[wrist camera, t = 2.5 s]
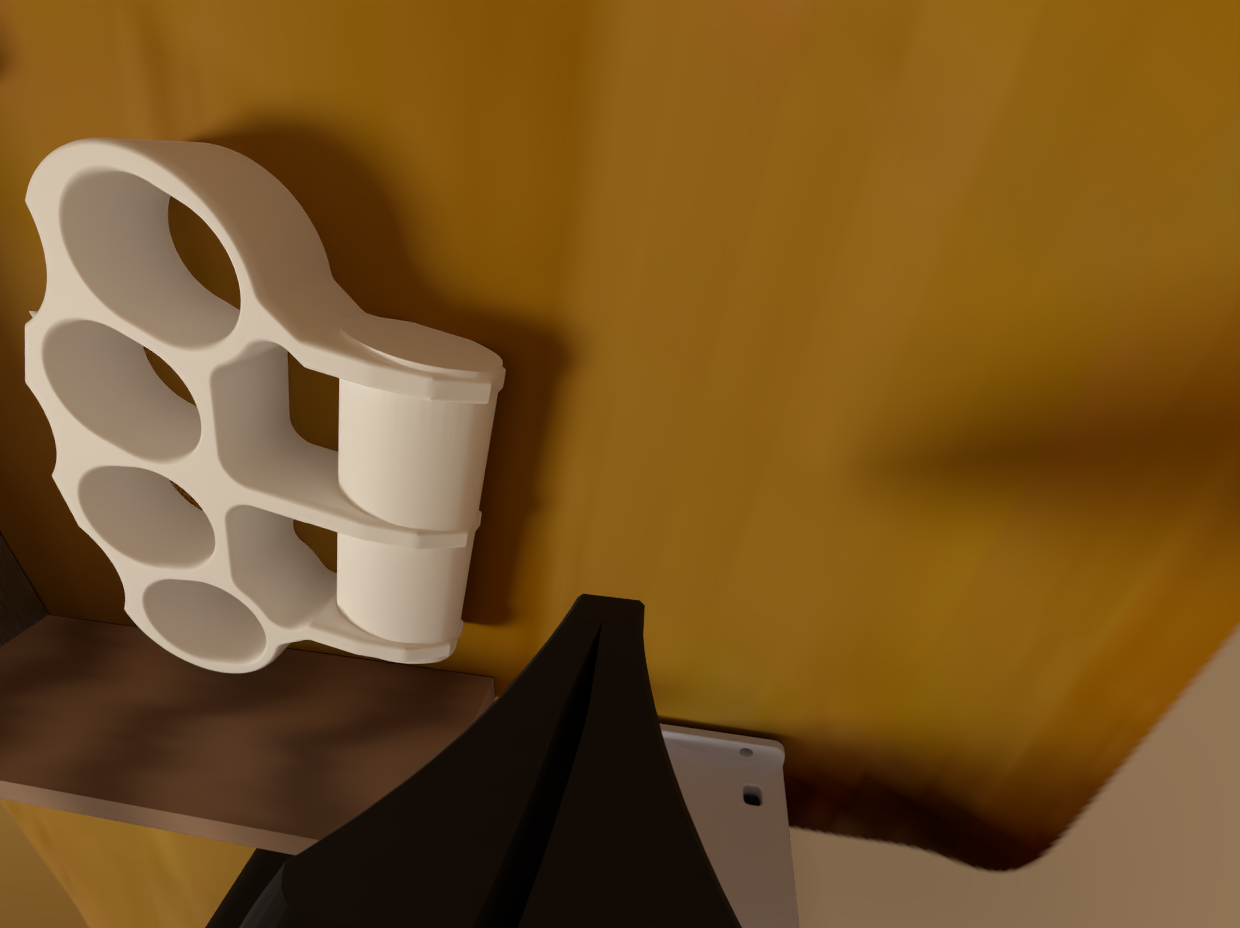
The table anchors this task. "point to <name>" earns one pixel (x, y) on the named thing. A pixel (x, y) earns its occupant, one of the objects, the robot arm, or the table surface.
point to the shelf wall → (216, 733)
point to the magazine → (248, 888)
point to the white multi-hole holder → (248, 417)
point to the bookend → (16, 598)
